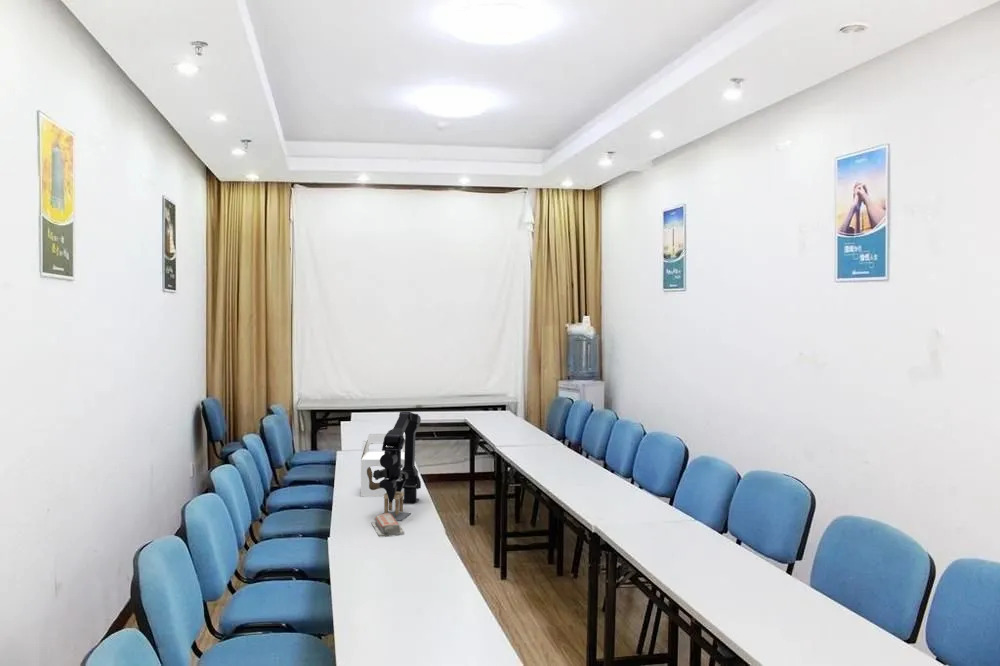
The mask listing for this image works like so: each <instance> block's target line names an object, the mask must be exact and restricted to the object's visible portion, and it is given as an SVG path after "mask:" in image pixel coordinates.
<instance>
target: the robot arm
mask: <svg viewBox="0 0 1000 666" xmlns="http://www.w3.org/2000/svg"><path fill="white" fill-rule="evenodd" d="M421 420H422V419H421V416H420V415H419V413H414V412H412V411H405V410H404V411H399V415H398V418H397V420H396V422H395V424H394V425H393V428H392V429H390V430H388V432H387V433H385V434H386V436H385V437H384V442H383V444H382V447H381V452H385V453H384V455H382V456H381V458H380V464H381V466H382V469H380V470H379V469H375V470H374V471H373V472H372V474H373V476H372V478H374V480H375V481H378V480H379V479H382V478H383V479H382V480H381V481H379V482H378V483H379V487H380V488H384V489H385V490H386V492H387V495H388V498H389V499H388V503H389V502H392V503H393V501H394V500H395V499H394V496H395V493H396V492H401V490H402V488H404V496H403V503H405V504H406V503H407V504H415V503H417V502H418V501H419V500H420V498H418V496H417V490H419V489H421V488H422V483H421V482H422V481H421V479H420V476H419V470H418V469H417V467H416V466H415V465H416V464H415V461H416V460H415V459H416V457H415V456H416V434H417V432H418V430H419V428H420V424H421ZM404 441H405V458H404V467H403V469H402V465H401V452H402V450H403V445H404ZM416 501H417V502H416Z"/></svg>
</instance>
